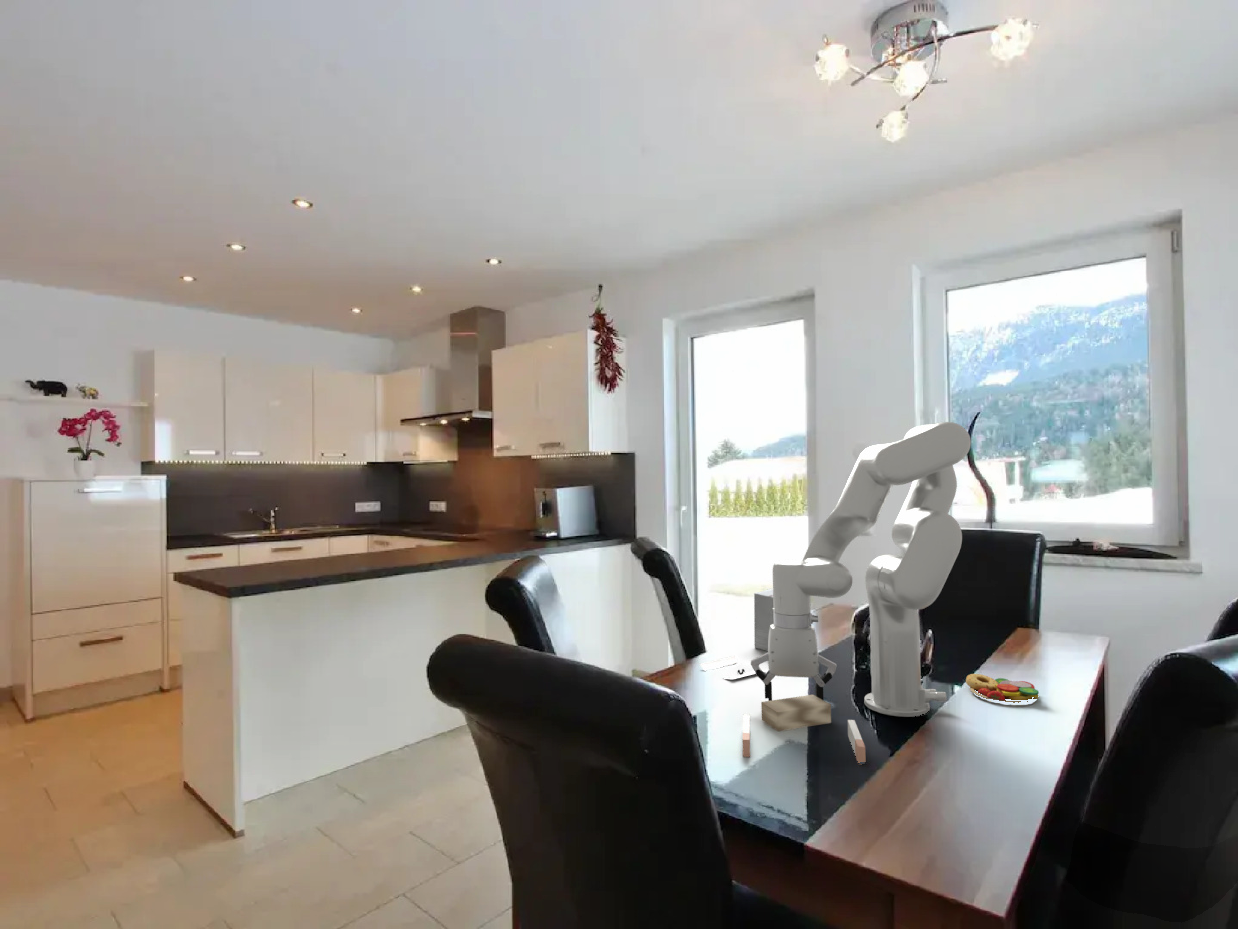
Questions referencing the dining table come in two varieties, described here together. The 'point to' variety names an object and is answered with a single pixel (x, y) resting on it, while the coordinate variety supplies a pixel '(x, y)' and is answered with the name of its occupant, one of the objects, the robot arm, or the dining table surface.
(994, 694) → the toy food set
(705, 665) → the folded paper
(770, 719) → the birch block
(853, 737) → the walled lane
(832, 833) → the dining table surface
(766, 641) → the skincare box
